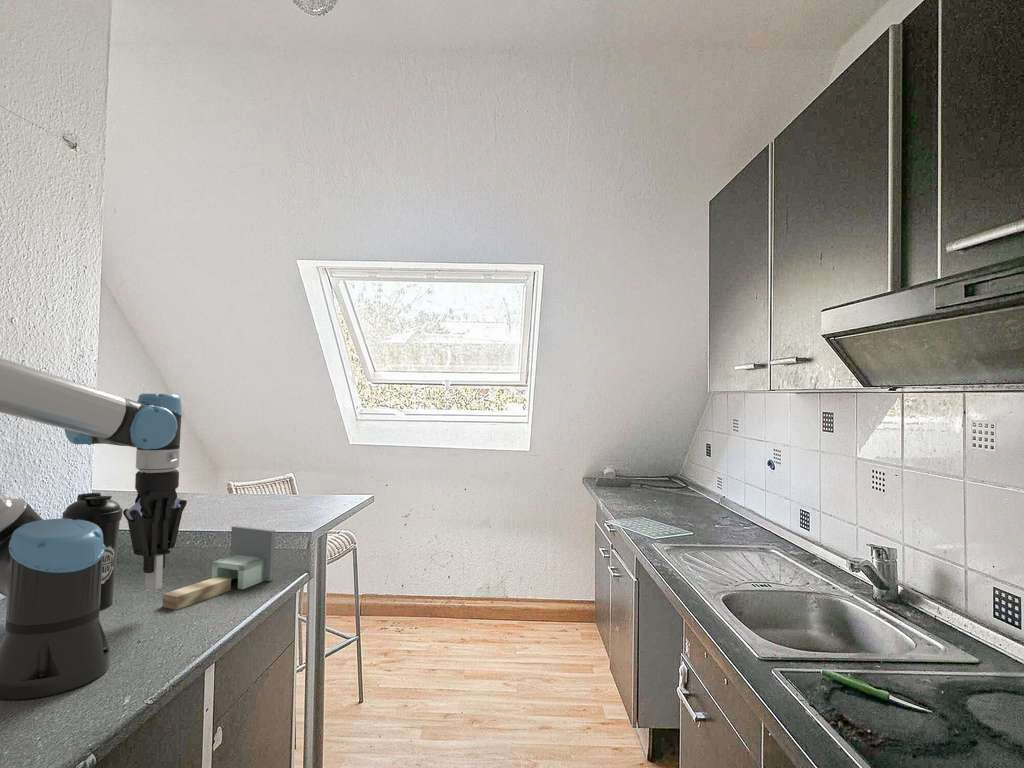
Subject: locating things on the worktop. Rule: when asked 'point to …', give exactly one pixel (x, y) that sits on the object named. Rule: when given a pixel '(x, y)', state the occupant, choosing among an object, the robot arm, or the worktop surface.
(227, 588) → the slat
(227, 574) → the end cap
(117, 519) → the water bottle
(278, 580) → the worktop surface
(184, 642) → the worktop surface
